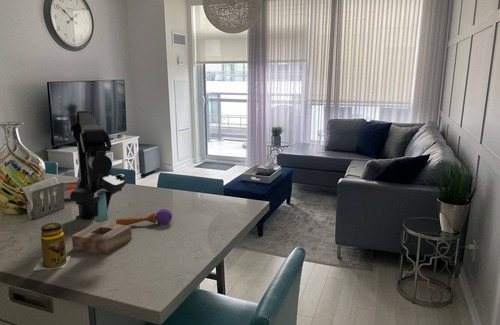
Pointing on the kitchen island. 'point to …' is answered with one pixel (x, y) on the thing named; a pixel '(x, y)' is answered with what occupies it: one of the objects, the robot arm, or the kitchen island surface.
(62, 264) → the condiment
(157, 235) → the kitchen island surface
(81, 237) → the hole block
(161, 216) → the wooden maraca
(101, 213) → the pin
